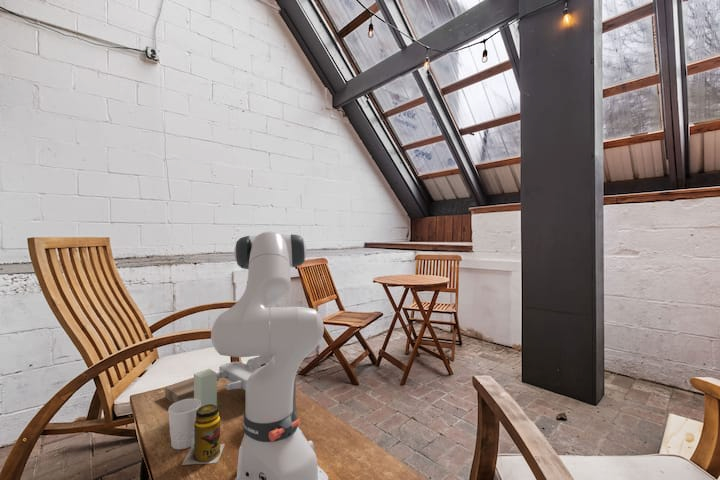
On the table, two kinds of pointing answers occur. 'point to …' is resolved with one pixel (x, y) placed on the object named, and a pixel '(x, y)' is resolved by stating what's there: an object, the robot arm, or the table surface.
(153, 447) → the table surface
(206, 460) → the condiment
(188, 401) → the white cup
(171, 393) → the walnut base
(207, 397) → the sage block
